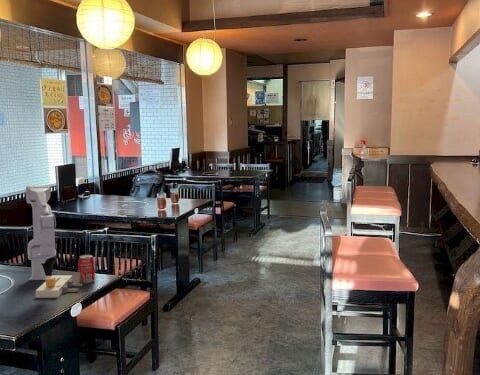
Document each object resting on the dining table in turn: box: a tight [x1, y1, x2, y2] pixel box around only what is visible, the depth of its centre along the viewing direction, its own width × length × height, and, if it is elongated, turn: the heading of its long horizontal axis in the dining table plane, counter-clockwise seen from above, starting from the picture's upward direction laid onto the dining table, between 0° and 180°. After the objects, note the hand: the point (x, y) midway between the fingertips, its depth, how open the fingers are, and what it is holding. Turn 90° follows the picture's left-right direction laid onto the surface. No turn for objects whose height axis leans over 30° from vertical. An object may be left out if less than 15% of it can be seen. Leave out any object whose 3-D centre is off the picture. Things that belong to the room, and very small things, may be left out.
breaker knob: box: [45, 277, 56, 287], centre depth 194 cm, size 2×3×3 cm
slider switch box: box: [35, 274, 73, 299], centre depth 200 cm, size 20×9×3 cm, turn 4°
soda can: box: [77, 254, 96, 284], centre depth 210 cm, size 7×7×12 cm
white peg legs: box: [62, 280, 84, 294], centre depth 200 cm, size 9×6×2 cm, turn 4°
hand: (48, 275), depth 191 cm, fingers closed
